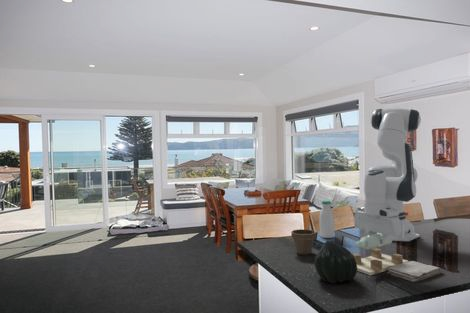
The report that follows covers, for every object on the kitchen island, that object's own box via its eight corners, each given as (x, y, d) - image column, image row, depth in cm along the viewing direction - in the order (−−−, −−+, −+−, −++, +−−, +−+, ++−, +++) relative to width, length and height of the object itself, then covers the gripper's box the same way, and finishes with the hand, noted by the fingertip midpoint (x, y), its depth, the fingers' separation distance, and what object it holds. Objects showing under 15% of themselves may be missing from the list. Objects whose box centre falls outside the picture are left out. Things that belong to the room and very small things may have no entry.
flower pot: (295, 248, 170) (295, 228, 170) (318, 250, 165) (318, 229, 165) (288, 254, 160) (288, 233, 160) (313, 257, 155) (312, 235, 155)
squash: (366, 273, 119) (352, 234, 129) (324, 277, 118) (313, 237, 128) (354, 288, 130) (342, 251, 140) (316, 292, 129) (306, 254, 139)
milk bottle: (334, 238, 186) (334, 201, 186) (320, 238, 188) (319, 201, 187) (333, 235, 194) (333, 199, 193) (319, 234, 195) (318, 199, 195)
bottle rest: (381, 255, 155) (381, 246, 155) (408, 263, 144) (408, 253, 144) (344, 266, 143) (343, 256, 143) (370, 275, 132) (370, 264, 132)
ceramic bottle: (382, 242, 149) (381, 231, 149) (392, 245, 144) (392, 233, 144) (353, 249, 140) (353, 237, 140) (363, 252, 135) (363, 239, 135)
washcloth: (385, 274, 134) (385, 266, 134) (412, 265, 143) (412, 258, 143) (414, 284, 124) (414, 275, 123) (441, 273, 133) (441, 265, 133)
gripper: (350, 206, 150) (351, 238, 150) (392, 213, 133) (393, 249, 133) (360, 205, 153) (361, 236, 154) (402, 211, 136) (403, 246, 136)
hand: (376, 242), depth 143 cm, fingers closed on ceramic bottle, 5 cm apart
